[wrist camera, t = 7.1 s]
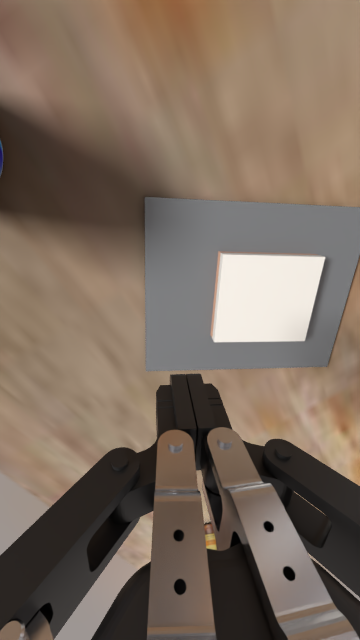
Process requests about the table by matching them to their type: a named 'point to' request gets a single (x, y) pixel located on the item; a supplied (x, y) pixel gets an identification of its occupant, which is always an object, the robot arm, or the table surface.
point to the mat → (200, 276)
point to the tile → (264, 296)
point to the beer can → (1, 158)
